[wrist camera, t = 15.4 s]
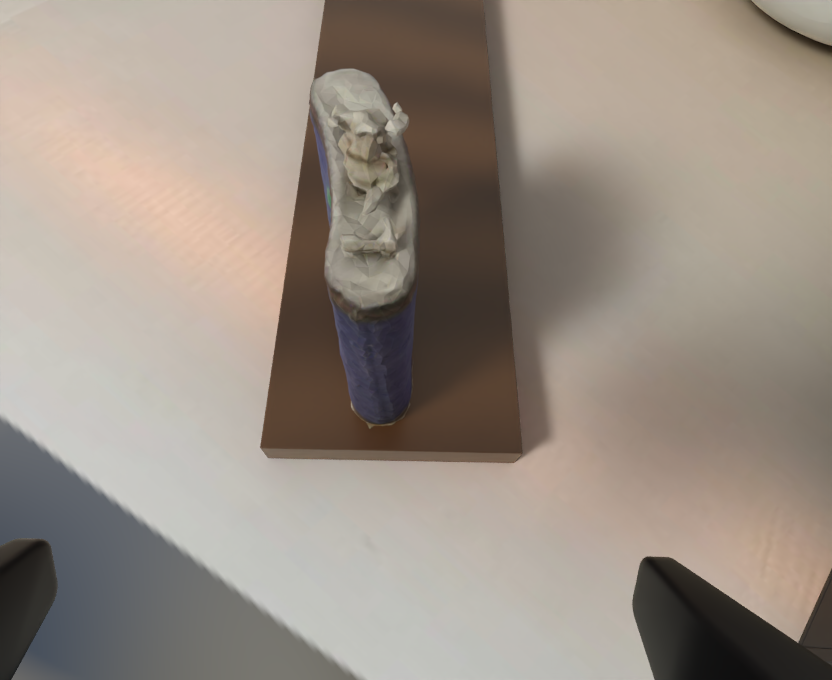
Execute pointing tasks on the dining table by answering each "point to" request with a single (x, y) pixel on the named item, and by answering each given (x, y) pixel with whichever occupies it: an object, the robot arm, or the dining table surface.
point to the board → (438, 262)
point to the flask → (369, 238)
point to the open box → (820, 626)
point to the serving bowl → (802, 16)
